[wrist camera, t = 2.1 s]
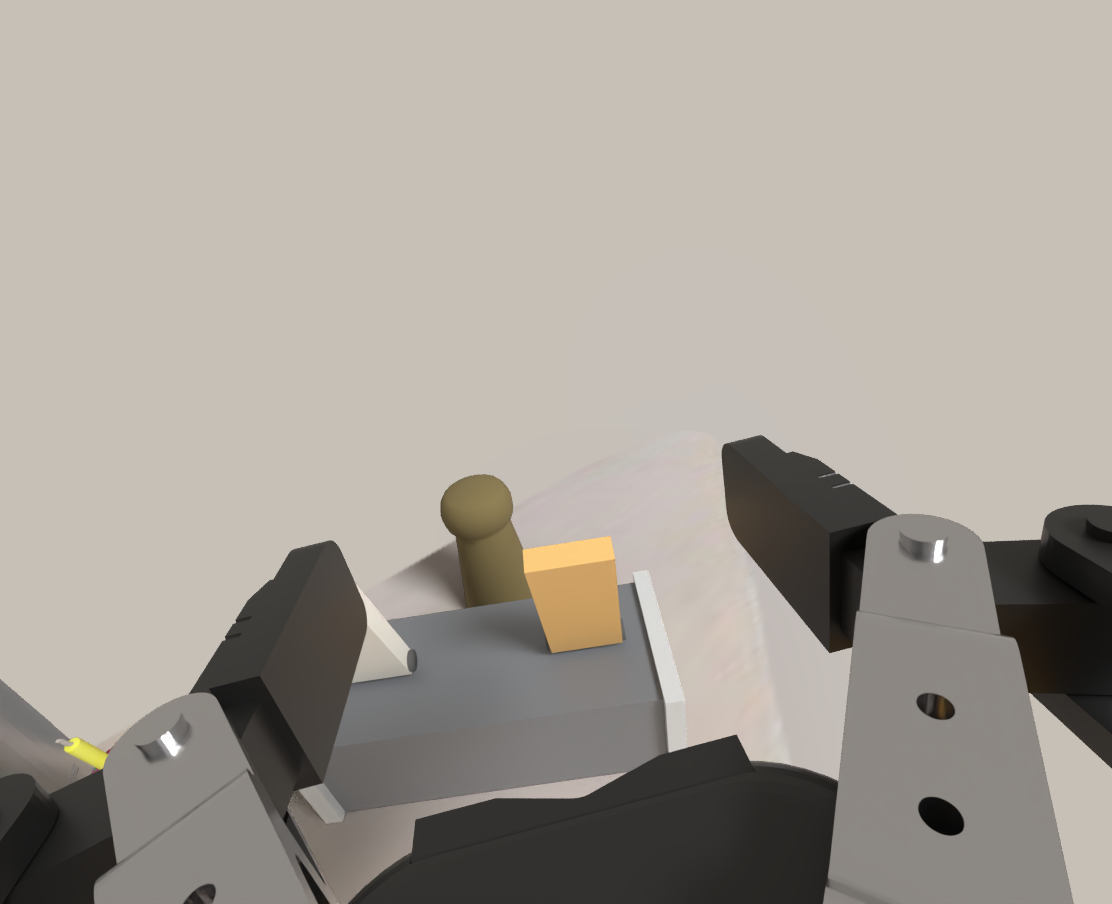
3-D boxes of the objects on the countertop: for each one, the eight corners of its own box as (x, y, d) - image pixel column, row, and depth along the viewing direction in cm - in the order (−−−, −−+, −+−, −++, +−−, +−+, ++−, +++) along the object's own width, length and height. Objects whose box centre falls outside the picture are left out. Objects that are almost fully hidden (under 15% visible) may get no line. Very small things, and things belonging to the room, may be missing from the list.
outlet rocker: (548, 655, 30) (519, 573, 24) (546, 634, 31) (518, 550, 24) (626, 643, 30) (619, 558, 23) (622, 623, 31) (614, 535, 24)
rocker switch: (340, 686, 31) (253, 615, 24) (344, 665, 31) (260, 590, 25) (416, 674, 31) (350, 599, 24) (418, 653, 31) (354, 575, 25)
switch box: (326, 824, 31) (274, 760, 27) (363, 683, 39) (326, 619, 35) (687, 772, 30) (685, 700, 27) (653, 640, 38) (648, 570, 34)
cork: (484, 564, 47) (452, 461, 41) (548, 571, 45) (525, 464, 39) (453, 619, 42) (413, 511, 37) (524, 630, 41) (493, 518, 35)
